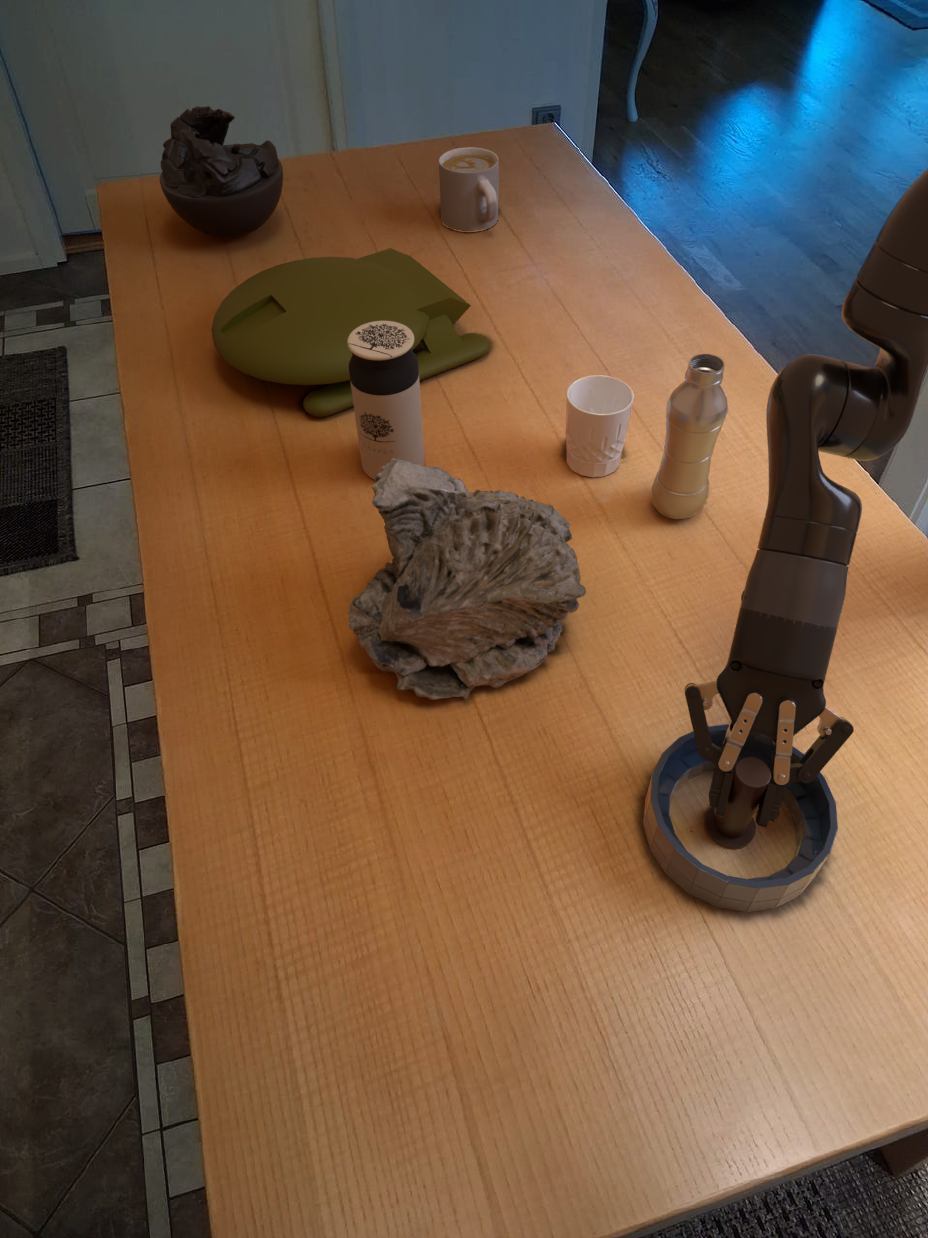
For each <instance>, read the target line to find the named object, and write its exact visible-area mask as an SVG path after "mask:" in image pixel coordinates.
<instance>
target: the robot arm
mask: <svg viewBox="0 0 928 1238" xmlns="http://www.w3.org/2000/svg"><path fill="white" fill-rule="evenodd" d="M856 273H857V274H856V275H855V277H854V279H853V281H852V283H851V285H850V286H849V289H848V291H847V293H846V295H845V297H844V300H843V302H842V305H841V309H840V310H841V311H840V312H841V313H840V314H841V319H842V321H843V323H844V325H845V326H846V327H847V328H848V329H849V330H850V331H851V332H852V333H853V334H855V335H857V336H858V337H860V338H861V339H863V340H865V341H866V342H868V343H870V344H872V345H874V346H875V347H877V348H879V351H878V355H877V357H876V360H875V362H874V363H873V364H872V366H870V365H864V364H860V363H855V362H851V361H848V360H843V359H839V358H835V357H831V356H826V355H822V354H819V353H805V354H801V355H798V356H797V357H795V358H793V359H791V360H790V361H789V362H788V363H786V364H785V365H784V366H783V368H782V369H781V370H780V371H779V372H778V374H777V375H776V377H775V379H774V380H773V382H772V385H771V387H770V390H769V393H768V396H767V403H766V412H765V413H766V415H765V417H766V420H765V421H766V422H765V423H766V438H767V440H766V441H767V453H768V456H767V457H768V458H767V459H768V460H767V461H768V493H767V494H768V496H767V505H766V506H767V507H766V510H765V514H764V518H763V523H762V526H761V531H760V534H759V540H758V544H757V550H756V552H755V555H754V558H753V561H752V563H751V566H750V569H749V571H748V574H747V578H746V582H745V585H744V588H743V591H742V593H741V596H740V601H741V602H740V607H739V611H738V615H737V619H736V623H735V629H734V632H733V636H732V642H731V645H730V649H729V654H728V659H727V662H726V665H725V667H724V669H723V670H722V671H721V672H720V673H719V674H718V676H717V678H716V680H713V681H709V682H704V683H699V684H697V683H695V682H689V683H687V684H686V685H685V686H684V696H685V700H686V704H687V705H686V706H687V709H688V714H689V719H690V722H691V723H690V724H691V727H692V731H693V732H694V736H695V741H696V745H697V749H698V753H699V755H700V756H701V757H702V758H705V759H707V760H708V761H710V762H712V763H713V764H714V766H715V770H714V772H713V774H712V778H711V783H710V787H709V791H708V802H709V806H710V807H714V813H715V815H718V816H722V817H724V815H725V811H726V806H727V802H728V798H729V794H730V789H731V785H732V781H733V777H734V774H733V770H732V769H733V767H734V765H735V762H736V760H737V758H738V755H739V753H740V750H741V748H742V747H743V745H744V743H745V741H746V739H747V736H748V734H751V735H760V734H761V735H764V736H766V737H768V738H770V739H771V764H770V771H771V779H770V782H769V784H768V786H767V788H766V790H765V792H764V794H763V796H762V799H761V801H760V803H759V805H758V807H757V809H756V813H755V814H756V815H755V823H756V827H759V828H760V827H761V828H765V829H767V827H768V825H769V822H770V823H775V822H776V821H777V819H778V818H779V815H780V812H781V811H780V810H781V807H782V803H783V801H782V799H783V795H784V790H785V788H786V786H787V785H788V784H790V783H793V782H803V783H810V782H812V781H813V779H814V778H815V777H816V776H817V775H818V773H819V772H822V770H823V769H824V768H825V767H826V765H827V764H828V763H829V762H830V761H831V760H832V759H833V757H834V756H835V755H836V753H838V751H839V750H840V749H841V748H842V747H843V745H844V744H846V742H847V740H848V739H849V738H850V737H851V736H852V735H853V733H854V730H855V729H854V726H853V724H852V723H851V722H850V721H849V720H848V719H847V718H845V717H843V716H839V715H838V714H836V713H835V712H834V711H832V710H831V709H830V708H829V707H827V700H826V697H825V693H824V685H825V681H826V677H827V673H828V669H829V664H830V660H831V656H832V652H833V648H834V644H835V640H836V636H837V633H838V627H839V625H840V624H839V623H840V619H841V616H842V612H843V607H844V603H845V598H846V593H847V584H848V583H847V582H848V573H849V569H850V567H849V566H850V564H851V561H852V556H853V551H854V548H855V543H856V539H857V536H858V534H857V533H858V532H859V527H860V522H861V518H862V513H863V512H862V511H863V503H862V500H861V497H860V496H859V495H858V494H857V493H856V492H854V491H852V489H849V488H847V487H845V486H844V485H841V484H840V483H838V482H835V481H834V480H832V479H831V478H829V476H827V475H826V473H824V470H823V467H822V464H821V459H820V453H824V454H829V455H833V456H837V457H842V458H846V459H852V460H854V461H863V462H864V461H865V462H867V461H873V460H876V459H879V458H881V457H883V456H885V455H887V453H889V452H890V451H892V450H893V449H894V448H895V447H896V446H897V445H898V444H899V443H901V441H902V440H903V438H904V437H905V436H906V434H907V432H908V430H909V428H910V426H911V423H912V421H913V417H914V415H915V411H916V408H917V404H918V400H919V397H920V393H921V389H922V386H923V383H924V380H925V376H926V373H927V370H928V167H927V168H926V169H925V170H924V171H922V173H921V174H919V176H918V177H917V178H916V179H915V180H914V181H913V182H912V183H911V185H910V186H909V187H908V188H907V189H906V191H905V192H904V193H903V194H902V195H901V197H900V198H899V199H898V200H897V202H896V203H895V204H894V206H893V207H892V208H891V211H890V213H889V214H888V216H887V217H886V219H885V221H884V223H882V226H881V228H880V229H879V232H878V234H877V236H876V237H875V239H874V241H873V243H872V245H871V247H870V249H869V250H868V252H867V255H866V256H865V258H864V260H863V261H862V264H861V266H860V268H859V270H858V272H856ZM819 452H820V453H819ZM717 694H719V696H720V699H721V701H722V704H723V705H724V708H725V710H726V712H727V714H728V717H729V718H730V721H729V723H728V724H729V727H728V729H727V732H726V735H725V738H724V741H723V743H722V746H721V748H719V747H718V746H716V745H715V744H713V743H712V742H711V738H710V734H709V729H708V726H709V725H708V721H707V716H706V712H705V711H707V710H710V709H711V708H712V707H713V700H714V697H715V696H716V695H717ZM817 718H819V722H818V724H817V727H816V730H817V733H818V734H819V736H818V737H817V738H816V739H815V741H814V742H813V743H812V744H811V746H810V747H808V749H807V750H806V752H805V753H803V754H804V755H803V756H802V757H801V759H800V760H799V761H798V762H797V763H794V764H790V761H791V756H792V746H793V747H794V744H793V743H794V737H795V736H796V735H797V734H798V733H799V732H801V731H802V730H803V729H804V728H806V727H807V726H809V724H811V723H812V722H813V721H814V720H815V719H817Z"/></svg>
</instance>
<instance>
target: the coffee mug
mask: <svg viewBox="0 0 928 1238" xmlns="http://www.w3.org/2000/svg"><path fill="white" fill-rule="evenodd" d="M499 172H500V159H499V156H498V155H497V154H496V153H495V152H494V151H492V150H491V149H486V148H482V147H475V146H467V147H458V148H454V149H450V150H448V151H446V152H444V153H442V154H441V156H440V157H439V159H438V173H439V176H438V177H439V195H440V196H439V200H440V221H441V220H442V222H443V223H444V224H445V225H446V226H448V227H450V228H452V229H456V230H461V231H475V230H481V229H485V228H488V227H490V226H492V225H494V224H495V223H496V222H497V220H498V221H499V197H500V196H499V195H500V193H499V187H500V185H499V184H500V177H499V176H500V173H499ZM442 222H441V223H442ZM497 223H498V222H497Z"/></svg>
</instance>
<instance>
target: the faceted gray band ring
mask: <svg viewBox="0 0 928 1238" xmlns="http://www.w3.org/2000/svg"><path fill="white" fill-rule="evenodd" d="M729 724H730V723H728V724H727V723H726V724H718V725H710V726H709V725H708V729H709V734H710V738H711V742H712V743H713V744H715V745H716V746H718V747H719V748H721V746H722V743H723V741H724V738H725V735H726V732H727V729H728V727H729ZM804 754H805V753H804V752H802V751H800V750H799V749H798V748H796V747H795V746H794V745H793V746H792V756H791V761H790V764H794V763H797V762H798V761H799V760H800V759H801V757H802V756H803V755H804ZM747 757H754V758H757V759H760V760H762V761H763V762H764V763H766V764H767V766H768V767H769V769H770V764H771V739H770V738H768V737H766V736H764V735H761V734H760V735H751V734H748V736H747V739H746V741H745V743H744V745H743V747H742V748H741V750H740V753H739V755H738V758H737V760H736V762H735V765H734V767H733V769H732V770H733V772H734V769H735V767H736V764H737V763H738V762H739V761H740V760H741V759H743V758H747ZM714 770H715V766H714V764H713V763H712V762H710V761H708V760H707V759H705V758H702V757H701V756H700V755H699V753H698V749H697V745H696V741H695V736H694V732H693V730H692V731H690V732H688V733H685V734H684V735H681V736H679V737H678V738H676V740H675V741H673V742H672V743H671V744H670V745H669V746H668V747H667V748H666V749H665V750H664V751H662V753H661V755H660V757H659V760H658V761H657V763H656V765H655V767H654V769H653V772H652V774H651V777H650V781H649V785H648V787H647V792H646V796H645V800H644V805H643V806H644V808H643V821H642V822H643V825H642V826H643V829H644V832H645V836H646V840H647V844H648V847H649V850H650V852H651V854H652V855H653V857H654V858H655V860H656V861H657V863H658V865H659V866H660V868H661V869H662V871H663V872H664V874H665V875H666V876H668V877H669V878H670V879H671V880H672V881H673V882H674V883H675V884H676V885H678V886H679V887H680V888H681V889H682V890H684V891H685V892H686V893H687V894H689V895H690V896H693V897H695V898H697V899H699V900H700V901H703V902H705V903H707V904H709V905H711V906H713V907H716V908H721V909H724V910H725V909H726V910H731V911H737V912H743V913H752V912H758V911H767V910H773V909H776V908H778V907H781V906H782V905H784V904H786V903H788V902H790V901H792V900H795V899H796V898H798V897H799V896H800V895H801V894H802V893H803V891H804V890H805V889H806V888H807V887H808V886H809V885H810V884H811V882H812V881H813V880H814V879H815V878H816V876H817V874H818V873H819V871H820V870H821V868H822V867H823V865H824V864H825V863H826V860H827V859H828V858H829V856H830V854H831V853H832V850H833V846H834V843H835V840H836V836H837V833H838V830H839V823H838V811H837V802H836V800H835V798H834V795H833V792H832V791H831V788H830V786H829V784H828V782H827V779H826V777H825V776H824V775H823V774H822V771H820V772H819V773H818V775H817V776H816V777H815V778H814V779H813V781H812V782H810V783H803V782H793V783H790V784H788V785H787V786H786V788H785V790H784V795H783V799H782V803H783V804H784V805H785V806H786V807H787V809H788V810H789V812H790V814H791V817H792V820H793V822H794V825H795V827H796V836H797V837H796V839H797V848H796V851H795V854H794V856H793V858H792V860H791V861H790V862H789V863H788V864H787V865H786V867H784V868H782V869H780V870H778V871H776V872H773V873H772V874H770V875H767V876H759V877H751V878H744V877H739V876H731V875H726V874H724V873H723V872H720V871H718V870H716V869H714V868H713V867H710V866H707V865H705V864H703V863H702V862H701V861H699V860H698V859H697V858H696V857H695V856H693V854H691V853H690V852H689V851H688V850H687V848H686V847H685V846H684V845H683V843H682V841H681V840H680V839H679V837H678V836H677V834H676V831H675V828H674V825H673V822H672V818H671V800H672V799H673V796H674V793H675V792H676V791H677V790H679V788H680V787H681V786H682V785H684V783H685V782H687V781H688V780H690V779H692V778H694V777H697V776H700V775H701V774H704V773H714Z"/></svg>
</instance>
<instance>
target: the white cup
mask: <svg viewBox="0 0 928 1238" xmlns="http://www.w3.org/2000/svg"><path fill="white" fill-rule="evenodd" d="M632 389H633V388H631V386H630V385H629V384H628V383H626V382H625V381H623V380H622V379H619V378H616V377H614V376H610V375H604V374H603V375H601V374H595V375H594V374H593V375H587V376H586V375H585V376H582V377H580V378H578V379H576V380H574V381H573V382H571V384H570V385H569V386H568V388H567V390H566V402H565V403H566V404H565V405H566V407H565V445H566V455H565V456H566V464H567V466H568V467H569V468H570V469H571V471H572V472H574V473H576V474H578V475H580V476H582V477H588V478H600V477H606V476H608V475H610V474H612V473H614V472H615V471H616V470H617V469H618V467H619V466H620V464H621V459H622V453H623V449H624V446H625V444H626V443H625V442H626V437H627V434H628V430H629V426H630V425H629V424H630V420H631V415H632V411H633V410H632V409H633V404H634V400H635V394H634V390H632Z"/></svg>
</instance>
